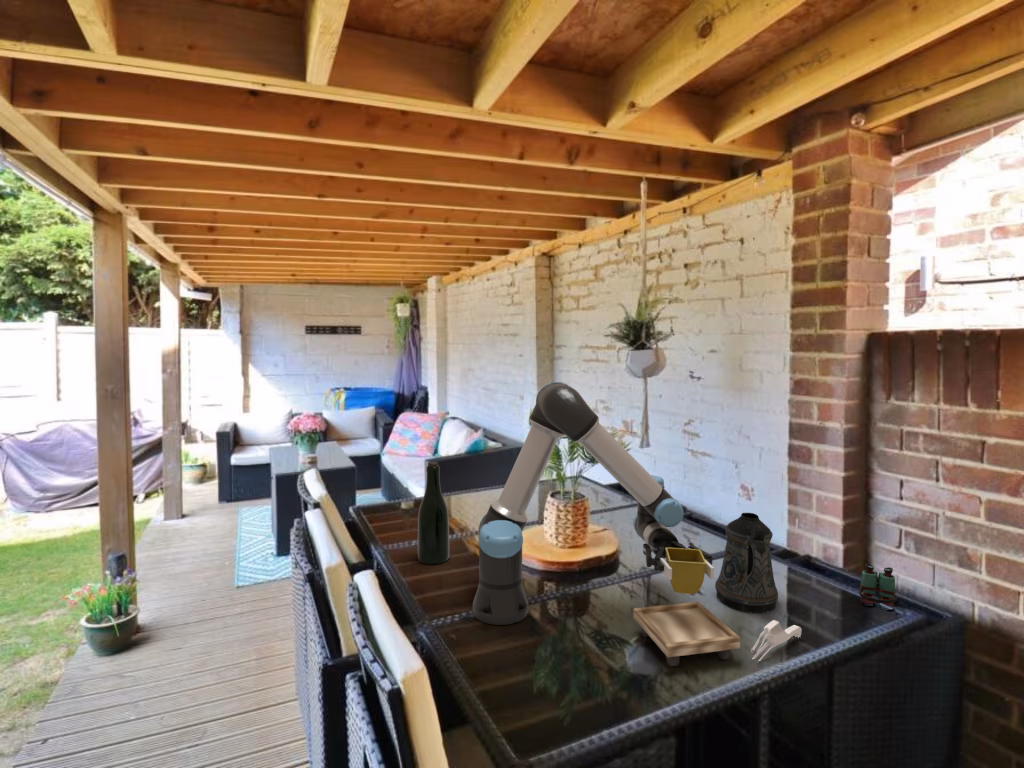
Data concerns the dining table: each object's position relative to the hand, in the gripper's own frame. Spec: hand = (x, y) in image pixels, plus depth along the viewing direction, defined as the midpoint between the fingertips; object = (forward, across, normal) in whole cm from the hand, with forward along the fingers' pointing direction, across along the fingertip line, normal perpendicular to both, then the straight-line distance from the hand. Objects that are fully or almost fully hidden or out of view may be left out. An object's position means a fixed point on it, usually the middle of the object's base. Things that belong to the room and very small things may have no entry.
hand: (691, 573), depth 135 cm
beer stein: (-20, -26, -18) cm, 37 cm away
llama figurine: (+4, -20, -18) cm, 27 cm away
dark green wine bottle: (-57, +66, -18) cm, 89 cm away
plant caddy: (+1, +2, -18) cm, 18 cm away
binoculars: (-16, -60, -18) cm, 65 cm away
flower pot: (-4, 0, -6) cm, 8 cm away
